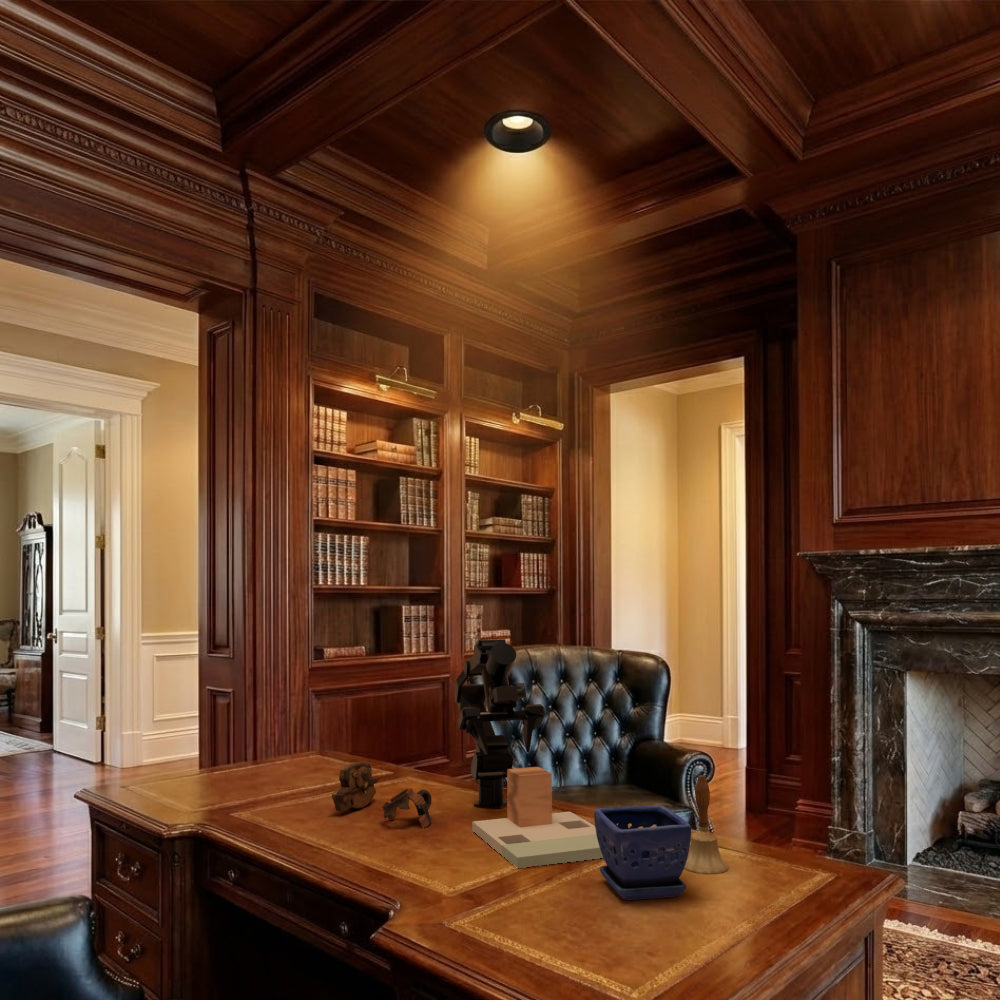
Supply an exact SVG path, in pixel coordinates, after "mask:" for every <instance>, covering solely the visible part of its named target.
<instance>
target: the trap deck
mask: <svg viewBox="0 0 1000 1000" xmlns="http://www.w3.org/2000/svg"><path fill="white" fill-rule="evenodd" d="M471 826H472V827H471V828H472V831H473V832H475V833H476V834H477V835H478V836H480V837H481V838H482V839H483V840H484V841H485V842H486V844H487V843H488V844H489V845H490V846H491V847H492V848H491V849H493V850H494V849H495V850H496V851H497V852H498V853H497V852H496V851H495V850H494V851H495V852H496V853H497V854H499V853H500V854H501V855H502V845H505V844H514V843H523V842H531V841H540V840H549V839H558V838H566V837H575V836H584V835H593V834H596V829H595V824H592V823H590V822H589V821H587V820H585V819H583V818H582V817H580V816H579V815H576V814H575V813H573V812H571V811H564V812H561V811H560V812H554V813H553V812H552V824H548V825H539V826H529V827H519V826H517V825H516V824H514V823H513V822H511V821H510V820H509V819H507V817H504V818H494V819H493V818H492V819H486V820H475V821H472V825H471ZM473 832H472V833H473ZM475 833H474V834H475ZM476 834H475V835H476ZM477 835H476V836H477ZM478 836H477V837H478ZM481 838H480V839H481ZM482 839H481V840H482ZM483 840H482V841H483ZM484 841H483V842H484ZM485 842H484V843H485ZM488 844H487V845H488ZM489 845H488V846H489ZM490 846H489V847H490ZM500 854H499V855H500ZM501 855H500V856H501Z"/></svg>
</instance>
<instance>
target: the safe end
mask: <svg viewBox="0 0 1000 1000" xmlns="http://www.w3.org/2000/svg"><path fill="white" fill-rule="evenodd" d="M502 856H503V858H504V857H505V858H506V859H507V860H508V861H510V862H511V863H512V864H513V865H515V866H516V867H517V868H523V867H529V866H537V865H546V864H547V866H550V865H549V864H555V865H558V864H557V863H563V864H568V863H567V862H571V863H577V862H576V861H579V862H585V861H584V860H587V861H593V860H592V859H595V860H601V859H600V858H603V855H602V853H601V850H600V847H599V843H598V840H597V835H596V834H593V835H584V836H575V837H566V838H558V839H549V840H540V841H531V842H523V843H514V844H505V845H502ZM502 856H501V857H502ZM505 858H504V859H505ZM506 859H505V860H506ZM603 859H604V858H603ZM507 860H506V861H507ZM508 861H507V862H508ZM510 862H509V863H510ZM511 863H510V864H511ZM512 864H511V865H512ZM513 865H512V866H513ZM516 867H515V868H516ZM517 868H516V869H517ZM523 869H524V868H523Z"/></svg>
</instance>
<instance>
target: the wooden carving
mask: <svg viewBox="0 0 1000 1000" xmlns="http://www.w3.org/2000/svg"><path fill="white" fill-rule="evenodd" d="M372 769H373V768H372V766H371V764H370V763H369V762H368V763H365V762H360V761H359V762H350V763H348V764H346V765H345V766H344V767H343V768H342V769H340V770H339V776H338V779H339V782H340V787H337V788H335V789H334V790H333V792H332V794H331V799H332V800H333V803H334V808H335V811H336V812H346V811H348V810H353V809H362V808H364V807H366V806H367V805H368V804H369V803H371V801H372V800H373V799H374V797H375V795H376V793H377V789H376V787H375V784H377V783H378V782H379V777H374V776H373V774H372V773H373V770H372Z"/></svg>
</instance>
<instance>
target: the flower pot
mask: <svg viewBox="0 0 1000 1000" xmlns="http://www.w3.org/2000/svg"><path fill="white" fill-rule="evenodd" d="M593 812H594V813H593V816H594V826H595V829H596V835H597V840H598V843H599V847H600V850H601V853H602V855H603V860H604V862H605V864H606V865H602V866H600V867H599V871H600V873H601V875H602V877H603V878H604V879H605V880H606V881H607V883H608V884H609V885H610V886H611V888H613V890H614V891H615V892H616V893H617V894H618V895H619V896H620V897H621V898H622V899H623V900H625V901H632V900H633V901H634V900H635V901H636V900H647V899H650V900H651V899H661V898H663V899H664V898H675V897H678V896H680V895H682V893H684V891H686V889H687V884H686V883H685V882H684V881H682V879H681V878H680V877H681V876H682V875H683V871H684V870H685V869H684V867H685V865H686V861H687V858H688V854H689V849H690V845H691V836H692V826H691V825H690V823H688V822H687V821H686V820H685V819H684V818H682V817H681V816H680V815H678V814H677V813H676V812H674V811H673V810H671V809H669V808H668V807H666V806H664V805H663V804H662V805H660V804H659V805H658V804H656V805H655V804H654V805H650V804H649V805H630V806H629V805H628V806H614V807H613V806H612V807H600V808H595V809H594V811H593ZM629 825H630V826H629ZM654 825H655V826H654Z"/></svg>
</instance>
